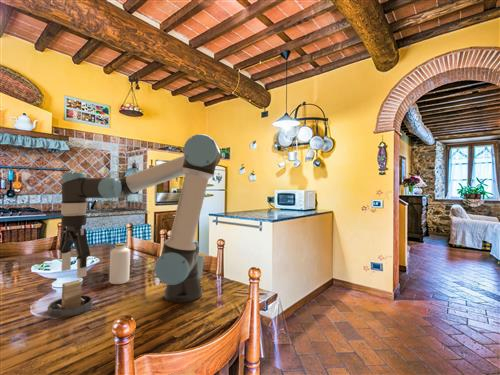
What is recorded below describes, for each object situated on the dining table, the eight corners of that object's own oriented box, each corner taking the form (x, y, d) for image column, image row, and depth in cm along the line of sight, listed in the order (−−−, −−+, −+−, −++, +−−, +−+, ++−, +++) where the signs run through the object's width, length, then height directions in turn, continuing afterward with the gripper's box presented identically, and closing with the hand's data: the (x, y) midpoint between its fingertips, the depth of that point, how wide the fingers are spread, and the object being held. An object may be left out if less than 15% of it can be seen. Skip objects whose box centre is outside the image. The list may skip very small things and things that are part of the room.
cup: (199, 274, 134) (199, 254, 135) (206, 279, 128) (206, 258, 129) (185, 277, 130) (186, 256, 130) (192, 282, 124) (192, 260, 124)
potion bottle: (121, 285, 117) (122, 246, 117) (105, 284, 119) (106, 244, 119) (132, 279, 125) (134, 242, 125) (117, 278, 127) (119, 241, 127)
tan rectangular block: (80, 306, 94) (81, 281, 95) (64, 311, 90) (65, 285, 91) (77, 304, 96) (78, 280, 96) (61, 309, 92) (62, 283, 92)
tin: (98, 307, 95) (98, 300, 95) (56, 321, 84) (56, 314, 84) (83, 298, 102) (83, 292, 102) (42, 310, 92) (42, 303, 92)
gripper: (101, 215, 90) (101, 276, 89) (71, 212, 104) (71, 265, 104) (77, 217, 84) (76, 282, 83) (49, 214, 98) (48, 270, 98)
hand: (73, 273), depth 94 cm, fingers open, 13 cm apart
